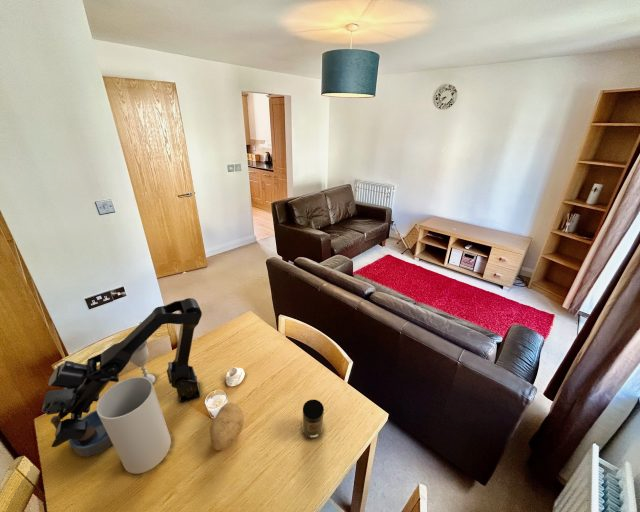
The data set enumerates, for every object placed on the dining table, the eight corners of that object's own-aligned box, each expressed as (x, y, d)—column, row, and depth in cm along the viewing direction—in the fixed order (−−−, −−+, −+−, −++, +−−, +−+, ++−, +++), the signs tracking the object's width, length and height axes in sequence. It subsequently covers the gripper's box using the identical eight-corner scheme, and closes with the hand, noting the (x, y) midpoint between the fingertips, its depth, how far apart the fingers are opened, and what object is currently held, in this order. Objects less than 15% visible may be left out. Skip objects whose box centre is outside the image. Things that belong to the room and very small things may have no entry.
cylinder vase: (137, 485, 75) (110, 428, 65) (115, 457, 81) (87, 402, 70) (179, 445, 85) (162, 390, 74) (157, 423, 91) (138, 369, 80)
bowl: (128, 408, 95) (125, 401, 94) (120, 445, 84) (117, 437, 83) (81, 422, 90) (77, 415, 89) (67, 464, 79) (61, 456, 78)
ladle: (97, 426, 88) (84, 401, 83) (94, 439, 85) (81, 414, 80) (67, 437, 85) (51, 412, 80) (63, 451, 82) (46, 425, 76)
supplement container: (319, 417, 95) (320, 397, 90) (325, 436, 89) (326, 416, 84) (300, 422, 93) (300, 402, 88) (305, 442, 87) (305, 421, 82)
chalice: (148, 390, 102) (135, 355, 94) (132, 387, 103) (118, 351, 95) (162, 374, 108) (151, 340, 100) (147, 371, 109) (135, 337, 102)
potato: (204, 458, 82) (200, 441, 79) (220, 413, 95) (217, 398, 91) (236, 459, 82) (233, 443, 78) (248, 414, 95) (246, 399, 91)
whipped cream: (238, 390, 104) (238, 382, 102) (221, 387, 104) (221, 379, 102) (246, 372, 111) (246, 364, 108) (230, 369, 111) (230, 361, 109)
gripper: (62, 361, 82) (27, 404, 81) (52, 411, 68) (10, 463, 67) (103, 369, 89) (71, 408, 88) (101, 414, 76) (64, 461, 75)
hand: (56, 432), depth 79 cm, fingers open, 9 cm apart
